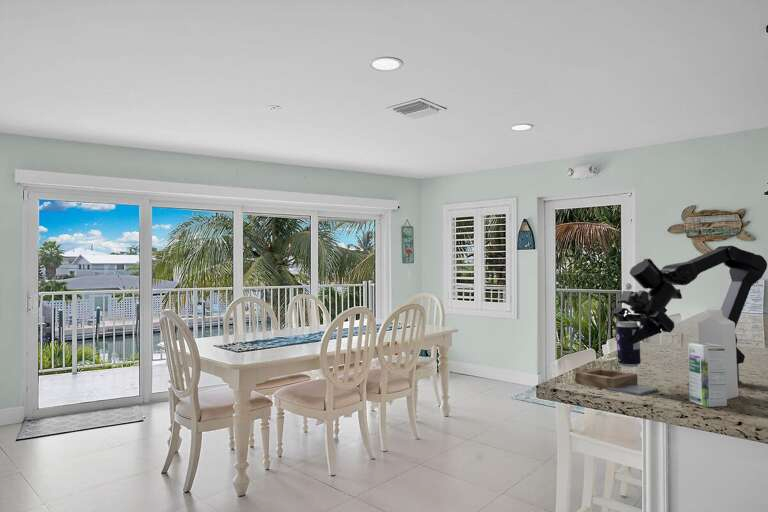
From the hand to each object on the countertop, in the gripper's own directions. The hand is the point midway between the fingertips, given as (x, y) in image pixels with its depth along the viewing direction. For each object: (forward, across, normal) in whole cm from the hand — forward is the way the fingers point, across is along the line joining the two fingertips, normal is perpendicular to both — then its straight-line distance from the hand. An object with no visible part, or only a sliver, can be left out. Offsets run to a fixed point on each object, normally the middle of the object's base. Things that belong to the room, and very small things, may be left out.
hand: (623, 341), depth 139 cm
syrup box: (+4, +18, +16) cm, 24 cm away
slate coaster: (+8, +1, +10) cm, 13 cm away
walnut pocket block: (+10, -8, +9) cm, 15 cm away
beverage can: (+4, 0, +6) cm, 7 cm away
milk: (-3, +12, +22) cm, 26 cm away
